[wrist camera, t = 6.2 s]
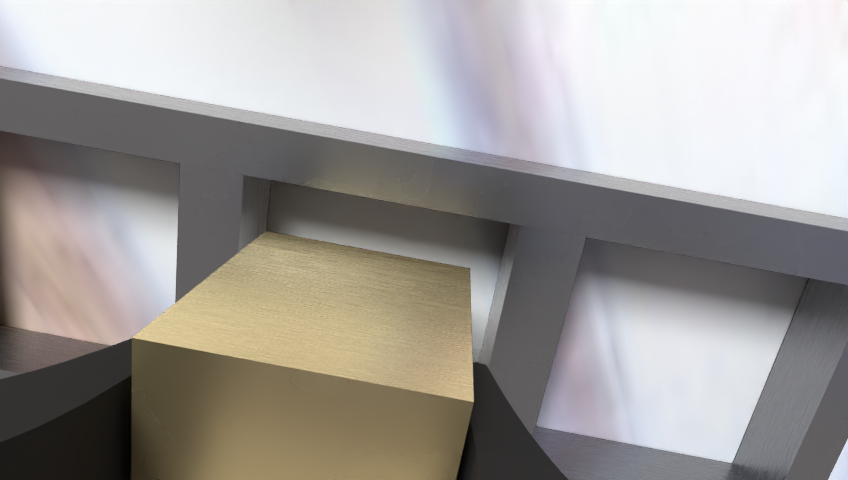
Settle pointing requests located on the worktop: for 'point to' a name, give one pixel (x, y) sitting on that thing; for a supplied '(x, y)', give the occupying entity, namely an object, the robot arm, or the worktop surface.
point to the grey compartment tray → (521, 262)
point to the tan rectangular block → (307, 369)
